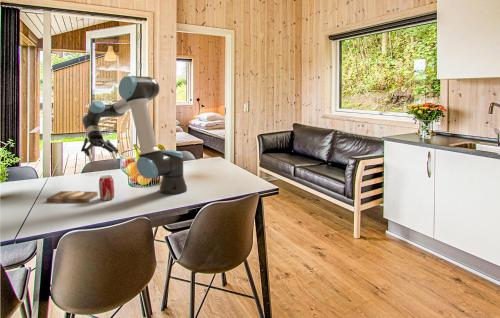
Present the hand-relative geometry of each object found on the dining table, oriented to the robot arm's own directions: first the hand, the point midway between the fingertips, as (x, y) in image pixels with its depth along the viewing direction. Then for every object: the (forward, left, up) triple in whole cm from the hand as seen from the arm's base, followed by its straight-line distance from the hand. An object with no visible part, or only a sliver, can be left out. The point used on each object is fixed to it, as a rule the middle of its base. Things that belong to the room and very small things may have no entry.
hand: (103, 160), depth 193 cm
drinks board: (+1, +19, -18) cm, 26 cm away
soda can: (-14, +9, -18) cm, 25 cm away
